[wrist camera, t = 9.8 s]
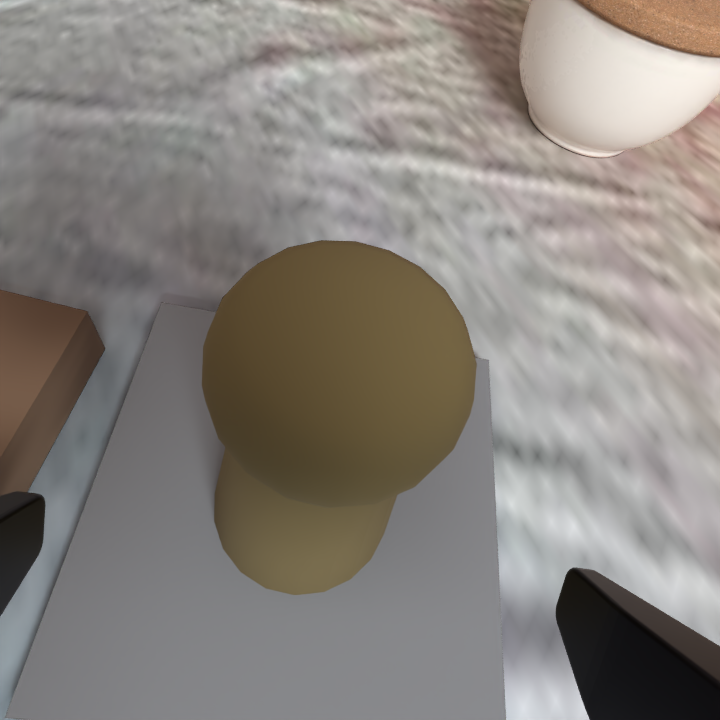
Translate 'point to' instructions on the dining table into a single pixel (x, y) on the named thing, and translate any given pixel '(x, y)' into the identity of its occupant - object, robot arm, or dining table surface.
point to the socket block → (39, 380)
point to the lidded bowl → (618, 70)
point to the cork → (329, 406)
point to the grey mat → (251, 600)
